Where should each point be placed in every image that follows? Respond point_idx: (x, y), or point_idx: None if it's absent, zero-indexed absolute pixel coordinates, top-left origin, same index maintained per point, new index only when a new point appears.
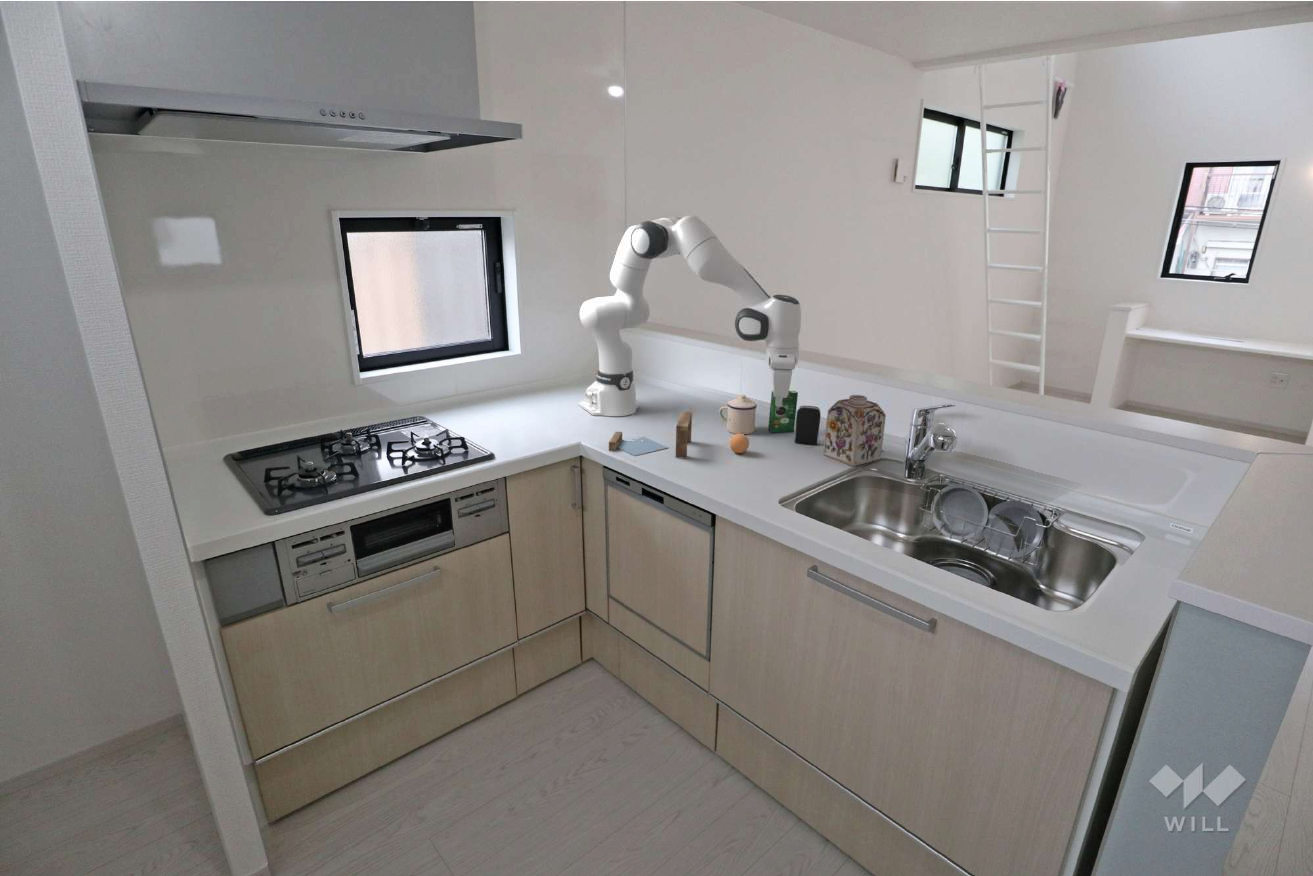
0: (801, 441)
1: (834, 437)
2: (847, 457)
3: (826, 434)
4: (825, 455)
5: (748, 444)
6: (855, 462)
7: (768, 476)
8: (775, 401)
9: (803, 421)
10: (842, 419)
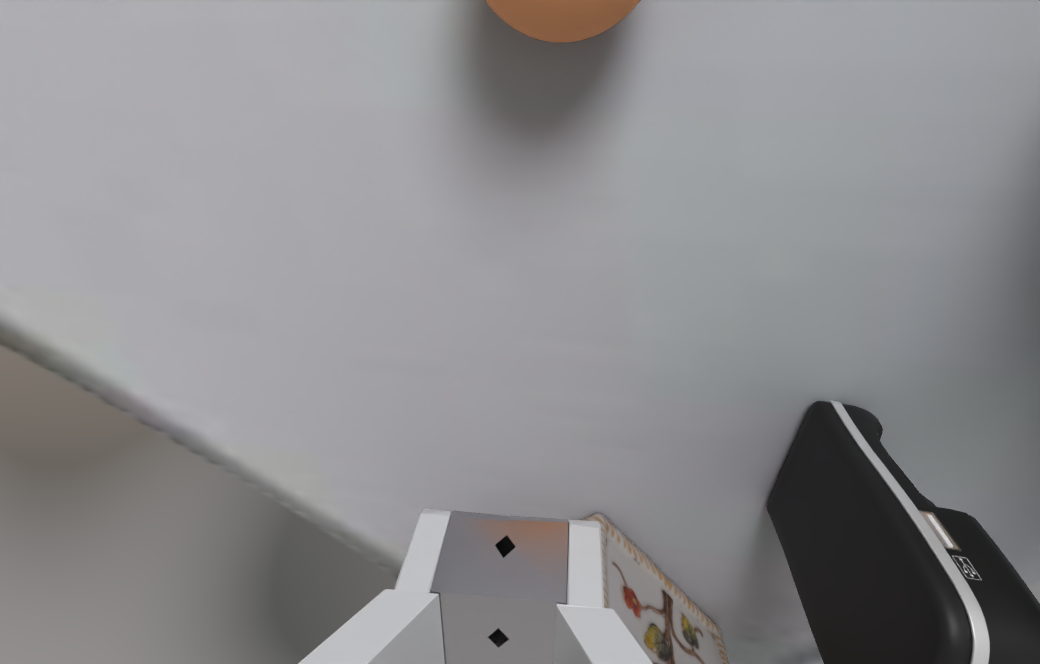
0: (801, 442)
1: None
2: None
3: None
4: (585, 518)
5: (525, 34)
6: None
7: (141, 187)
8: (511, 555)
9: (863, 562)
10: None
